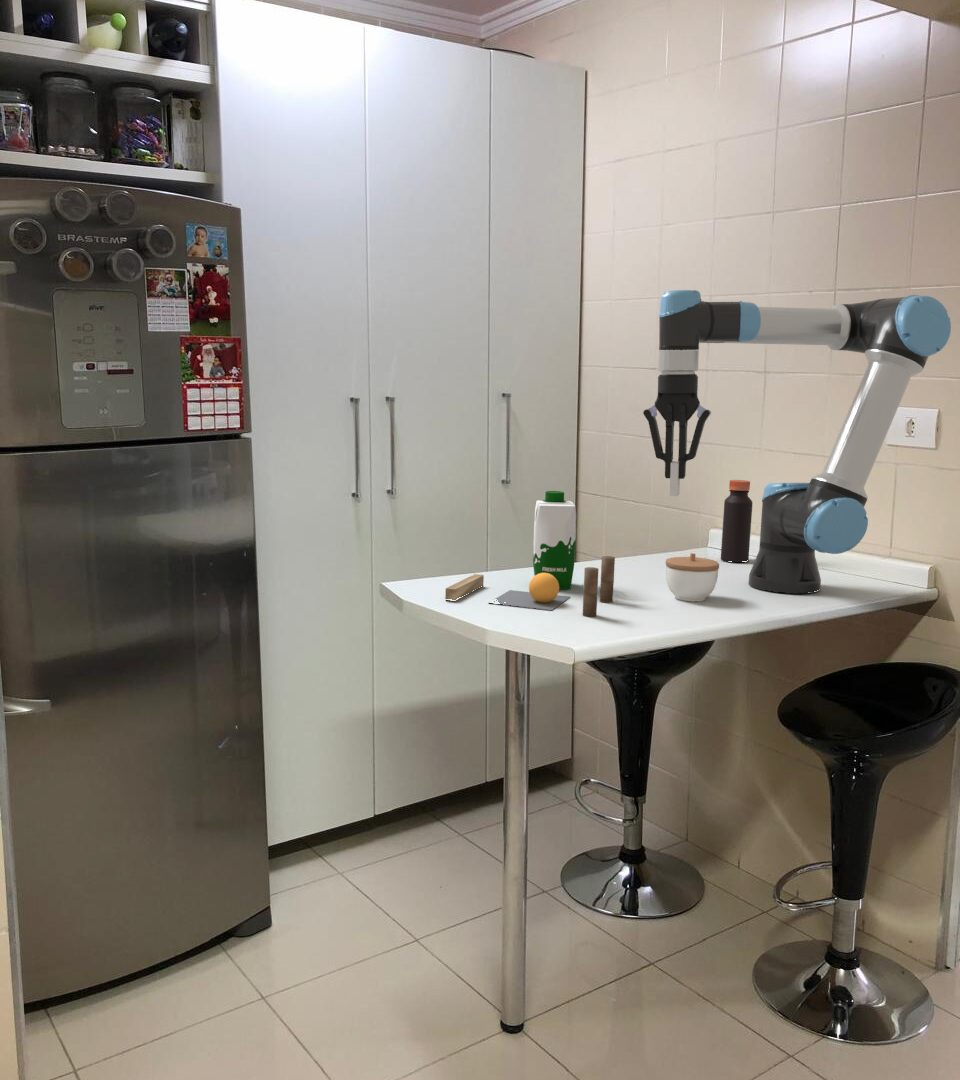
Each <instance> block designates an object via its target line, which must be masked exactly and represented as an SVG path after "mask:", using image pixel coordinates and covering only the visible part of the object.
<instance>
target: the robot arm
mask: <svg viewBox="0 0 960 1080" xmlns="http://www.w3.org/2000/svg"><path fill="white" fill-rule="evenodd" d="M701 296H702V295H701V292H700V291H699V290H694V289H693V290H691V289H682V290H681V289H677V290H675V289H673V290H667V291H664V292H663V293H662V294H661V296H660V302H659V303H660V305H659V312H658V318H659V323H658V324H659V325H658V326H659V327H658V329H659V333H658V334H659V335H658V337H659V339H658V341H659V344H658V360H657V361H658V365H657V366H658V369H657V370H658V371H659V372H661V373H660V374H659V375H658V376H657V395H656V398H655V401H654V405H652V406H651V407H649V408H647V409H644V410H643V413H642V414H643V415H644V417H645V419H646V420H647V422H648V427H649V431H650V436H651V441H652V445H653V449H654V454H655V458H656V459H660V460H661V461H663V462H664V477H665V479H669V496H670V497H678V496H679V495H680V483H681V482H680V480H684V479H685V477H686V475H687V473H686V470H687V469H686V467H687V462H688V461H691V460H693V459H695V458H696V456H697V453H698V448H699V445H700V442H701V438H702V435H703V430H704V427H705V425H706V424H705V423H706V422H707V420H708V418H709V417H710V415H712V411H711V410H710V409H707V408H705V407H704V406H702V404H701V402H700V400H699V397H698V390H699V389H698V386H699V382H698V381H699V380H698V379H699V376H698V374H696V372H697V371H699V357H700V356H699V353H700V352H699V350H700V344H747V345H748V344H751V345H752V344H753V345H754V344H755V345H758V344H759V345H800V346H804V345H805V346H827V347H828V348H829V349H830V350H831V351H844V352H845V351H846V352H847V351H848V352H854V353H861V354H864V355H865V358H866V360H867V362H868V364H867V367H866V369H865V372H864V374H863V376H862V379H861V381H860V383H859V385H858V388H857V390H856V392H855V395H854V397H853V399H852V401H851V405H850V407H849V410H848V411H847V413H846V415H845V416H846V417H845V419H844V421H843V423H842V425H841V428H840V430H839V433H838V434H837V435H838V436H837V437H836V440H835V442H834V444H833V447H832V449H831V451H830V453H829V455H828V459H827V461H826V463H825V465H824V467H823V471H822V472H821V473H819V474H816V475H814V476H812V477H811V479H810V480H809V482H771V483H770V482H769V483H768V484H766V485H765V487H764V489H763V493H762V498H761V499H762V500H761V502H762V507H761V519H760V521H761V522H760V535H759V546H758V547H759V549H758V553H757V554H756V557H755V558H754V559H755V560H754V562H753V563H752V567H751V570H750V572H749V575H748V586H750V585H751V586H750V587H752V586H753V587H752V588H754V587H755V588H754V589H757V588H758V589H757V590H761V589H762V591H765V590H768V591H767V592H771V591H775V592H774V593H778V592H786V593H785V594H790V593H807V594H809V593H808V592H814V591H817V590H819V589H820V590H821V585H822V584H821V583H822V579H821V575H820V570H819V567H818V563H817V558H816V553H815V552H818V553H823V554H830V555H832V554H833V555H839V554H843V553H846V552H848V551H850V550H852V549H854V548H855V547H856V546H858V545H859V543H860V542H861V541H862V540H863V538H864V536H865V534H866V533H867V530H868V525H869V518H868V516H867V515H868V513H867V510H866V509H865V507H866V506H865V505H866V503H867V502H868V498H869V497H868V495H867V493H866V490H865V486H866V484H867V481H868V479H869V476H870V474H871V471H872V469H873V467H874V465H875V462H876V460H877V458H878V455H879V453H880V451H881V449H882V447H883V444H884V441H885V439H886V437H887V434H888V432H889V429H890V427H891V425H892V424H893V420H894V418H895V416H896V414H897V412H898V408H899V406H900V404H901V402H902V399H903V396H904V394H905V393H906V389H907V387H908V385H909V383H910V380H911V378H912V377H913V376H916V375H918V374H920V373H922V372H923V370H924V368H925V365H926V363H927V361H928V359H929V357H930V356H933V355H935V354H937V353H939V352H940V351H942V350H943V349H944V348H945V346H946V345H947V344H948V342H949V339H950V337H951V331H952V323H951V322H952V321H951V318H950V317H949V314H948V310H947V308H946V306H945V305H944V304H943V303H942V302H941V301H940V300H939V299H936V297H933V296H929V295H918V294H910V295H907V296H902V297H890V298H879V299H874V300H868V301H863V302H856V303H837V304H834V305H832V307H831V308H821V307H819V308H817V307H816V308H815V307H780V306H779V307H777V306H774V307H773V306H758V305H757V304H756V303H755V302H749V301H743V300H740V301H704V300H702V297H701ZM700 404H701V405H700ZM657 412H658V413H659V414H660V415H661V417H662V419H663V420H664V421H665V441H664V442H665V443H664V444H665V447H664V448H665V449H663V445H662V444H663V443H662V439H661V435H660V430H659V426H658V421H657V419H656V417H657V416H658V413H657ZM695 412H697V413H696V417H697V419H698V420H697V421H696V425H695V430H694V432H693V436H692V440H691V444H690V448H689V451H688V453H687V447H688V446H687V445H688V443H687V442H688V421H689V420H690V419H691V418H693V415H694V414H695ZM675 422H677V423H678V429H679V430H678V459H677V461H673V460H674V434H675V433H674V432H675V431H674V429H675Z"/></svg>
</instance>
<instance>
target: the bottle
mask: <svg viewBox="0 0 960 1080" xmlns="http://www.w3.org/2000/svg"><path fill="white" fill-rule="evenodd" d="M728 484H729V486H728V491H729V492H730V493H729V495H728V496H727V497H726V498H725V499H724V501H723V502H724V503H723V515H722V518H723V520H722V534H721V549H720V560H721V561H722V560H724V561H723V562H725V561H732V562H742V561H747V560H748V561H749V560H750V558H749V557H750V545H751V543H750V542H751V530H752V515H753V513H752V512H753V500H752V499H751V498H750V497H749V493H750V490H751V489H750V488H751V481H750V480H745V479H730V480H729V483H728Z"/></svg>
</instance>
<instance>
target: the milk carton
mask: <svg viewBox="0 0 960 1080" xmlns="http://www.w3.org/2000/svg"><path fill="white" fill-rule="evenodd" d="M533 522H534V523H533V524H534V525H533V545H532V546H533V549H532V551H533V552H532V567H533V574H534V576H535V575H537V574H539V573H549V574H551V575H553V576H554V577H555V578H556V579H557V581H558V583H559V590H567V589H570V590H571V589H572V584H573V583H572V582H573V575H574V568H575V559H576V558H575V557H576V536H577V535H576V534H577V510H576V505H575V503H574V502H573V501H571V500H565V492H564V491H559V490H558V491H557V490H547V491H545V497H544V499H542V500H536V503H535V508H534V521H533ZM534 576H533V577H534Z"/></svg>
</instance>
